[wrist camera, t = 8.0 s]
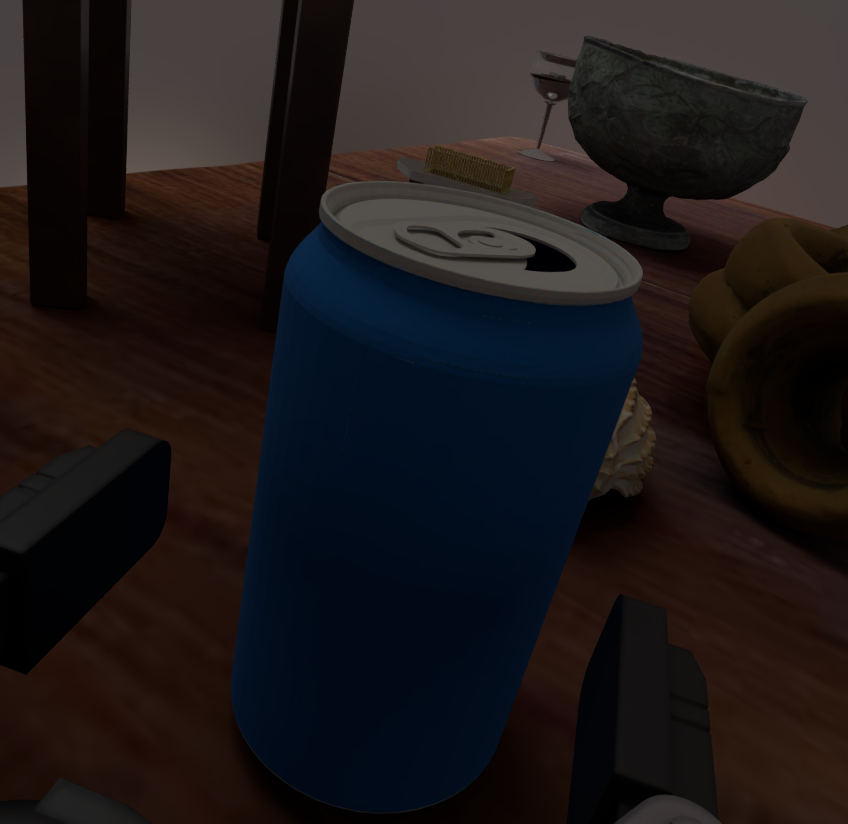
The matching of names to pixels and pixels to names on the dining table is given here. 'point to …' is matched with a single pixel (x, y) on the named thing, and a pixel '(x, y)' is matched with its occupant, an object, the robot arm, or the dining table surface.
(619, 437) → the seashell
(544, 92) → the wineglass
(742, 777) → the dining table surface
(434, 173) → the platform
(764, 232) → the brown looped sculpture
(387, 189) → the beverage can
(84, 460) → the robot arm
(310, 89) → the stool
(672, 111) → the bowl
